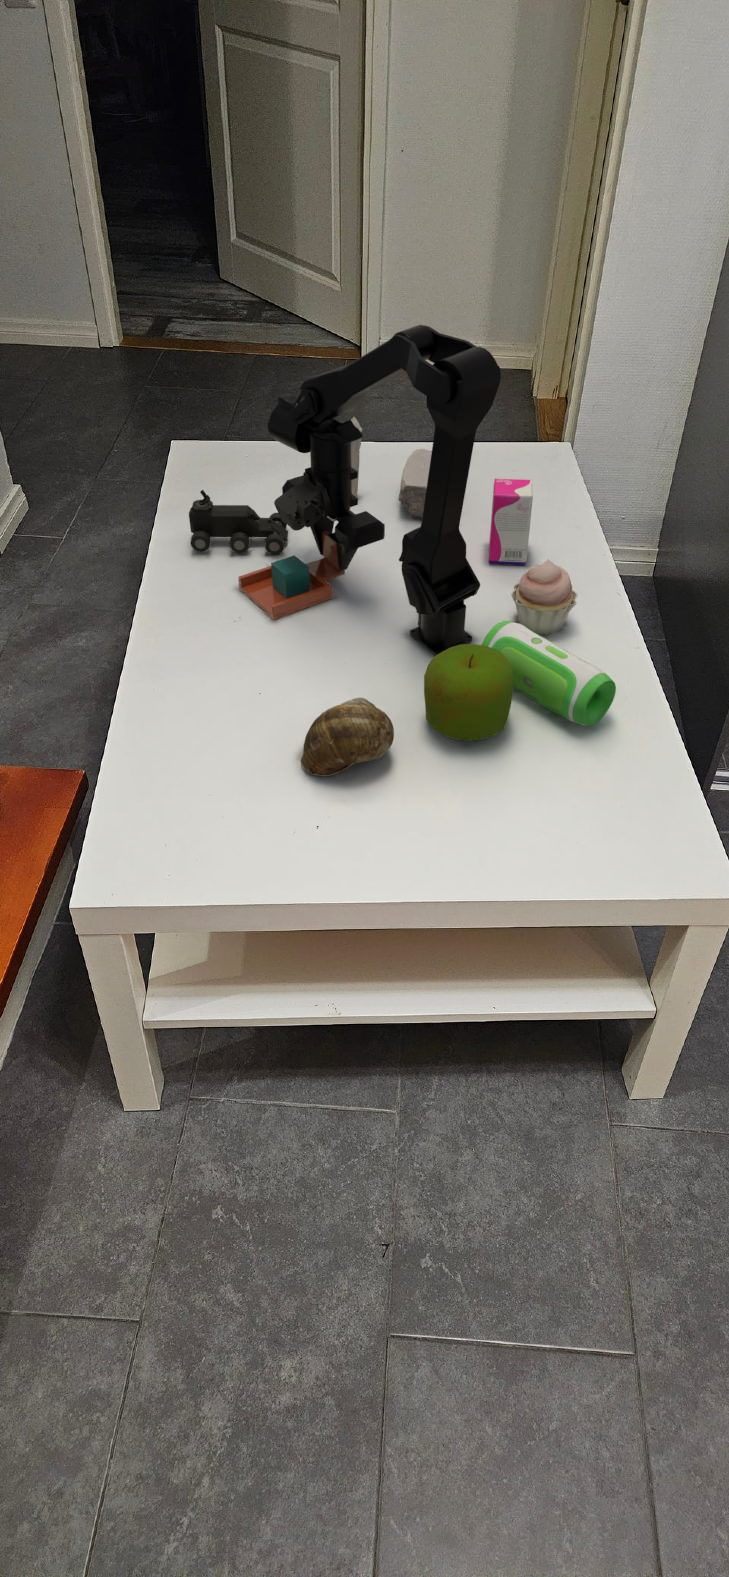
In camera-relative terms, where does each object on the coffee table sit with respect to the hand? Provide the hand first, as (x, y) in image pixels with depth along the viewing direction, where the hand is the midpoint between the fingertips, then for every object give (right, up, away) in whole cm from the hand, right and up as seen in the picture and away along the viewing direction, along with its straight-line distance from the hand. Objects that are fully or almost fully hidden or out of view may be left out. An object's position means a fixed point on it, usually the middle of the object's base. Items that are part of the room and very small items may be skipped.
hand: (333, 561), depth 160 cm
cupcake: (+30, -10, -7) cm, 32 cm away
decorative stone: (+15, +14, +19) cm, 28 cm away
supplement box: (+27, +2, +6) cm, 28 cm away
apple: (+17, -26, -24) cm, 39 cm away
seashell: (+2, -30, -29) cm, 42 cm away
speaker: (+28, -22, -20) cm, 41 cm away
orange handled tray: (-5, -4, -1) cm, 7 cm away
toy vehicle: (-15, +5, +9) cm, 18 cm away
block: (-6, -4, -2) cm, 8 cm away
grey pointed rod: (+3, +15, +20) cm, 25 cm away
